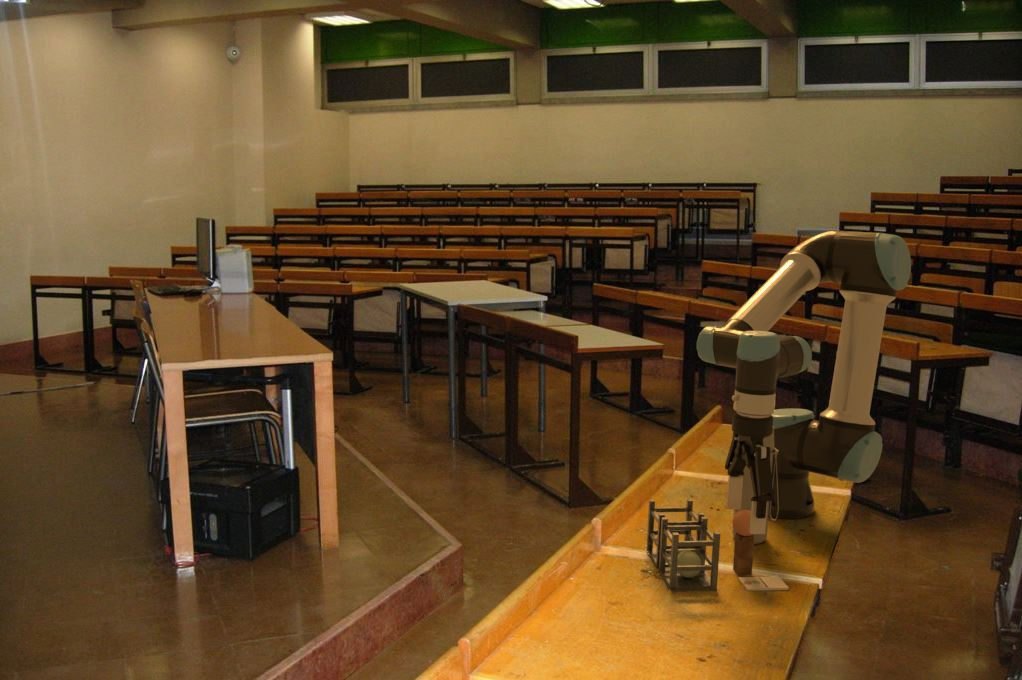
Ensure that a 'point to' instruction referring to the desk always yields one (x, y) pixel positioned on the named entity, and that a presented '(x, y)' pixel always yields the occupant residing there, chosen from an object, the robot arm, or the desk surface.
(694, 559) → the ball sage
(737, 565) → the peg stand
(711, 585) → the dark open frame crate
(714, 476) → the desk surface
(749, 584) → the card
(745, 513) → the ball terracotta
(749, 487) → the water bottle
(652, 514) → the wireframe cube
